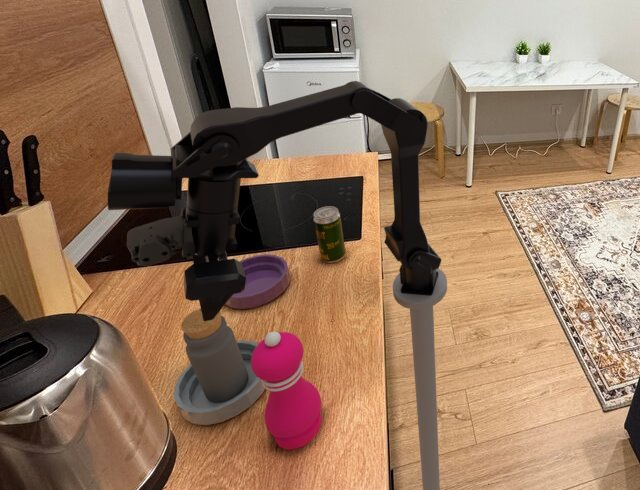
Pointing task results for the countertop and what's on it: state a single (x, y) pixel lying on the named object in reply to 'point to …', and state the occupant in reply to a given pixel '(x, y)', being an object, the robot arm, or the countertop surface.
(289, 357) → the pepper mill
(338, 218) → the beer can
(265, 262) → the bowl
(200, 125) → the robot arm
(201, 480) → the countertop surface
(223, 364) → the bottle
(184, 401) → the bowl
